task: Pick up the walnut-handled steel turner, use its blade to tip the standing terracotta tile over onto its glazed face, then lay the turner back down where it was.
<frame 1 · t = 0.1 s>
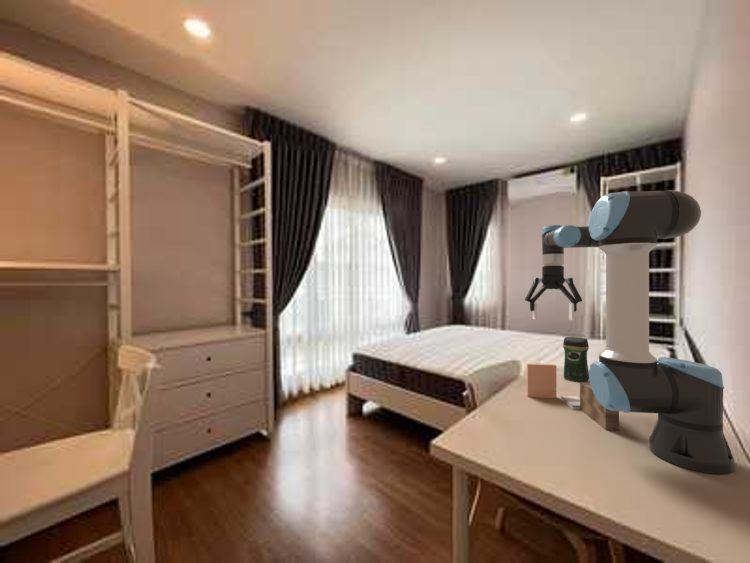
hand: (552, 319, 133), 28 cm above the table, tool pointing down, fingers open, 13 cm apart
coffee jar: (575, 380, 150), on the table
turner: (597, 419, 106), on the table
tile: (541, 396, 127), on the table
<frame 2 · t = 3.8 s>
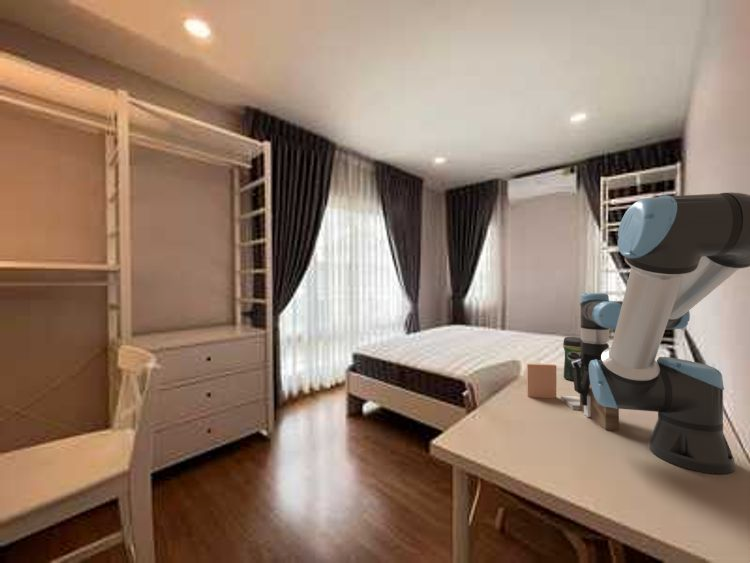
hand: (594, 415, 108), 0 cm above the table, tool pointing down, fingers closed on turner, 3 cm apart
turner: (597, 419, 106), on the table, touching gripper
everything else where it was.
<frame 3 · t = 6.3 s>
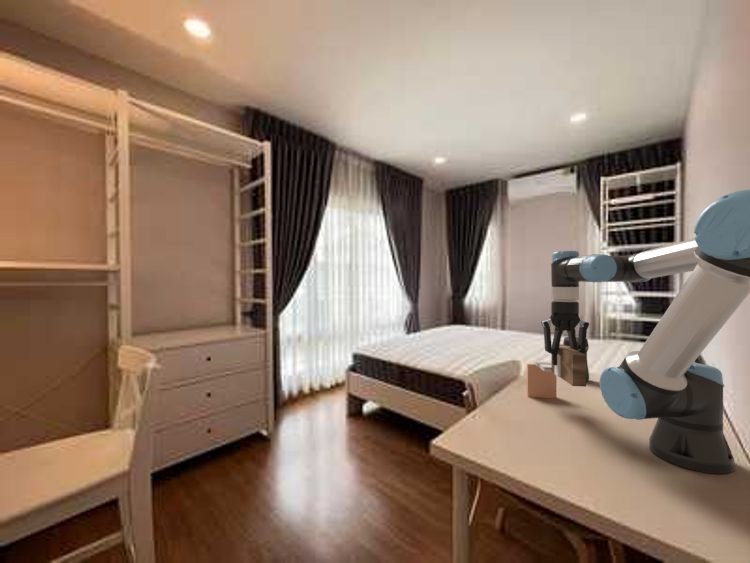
hand: (564, 375, 107), 13 cm above the table, tool pointing down, fingers closed on turner, 3 cm apart
turner: (567, 378, 104), point 13 cm above the table, touching gripper
everything else where it was.
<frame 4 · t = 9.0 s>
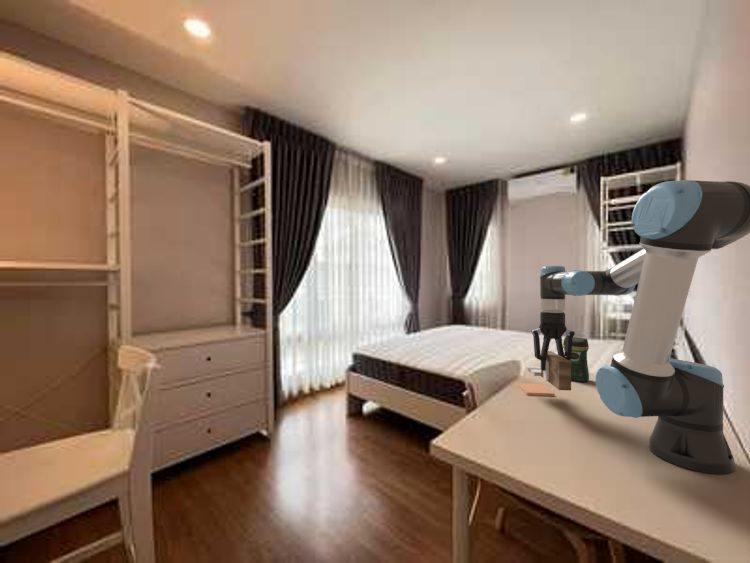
hand: (552, 380, 116), 9 cm above the table, tool pointing down, fingers closed on turner, 3 cm apart
turner: (555, 382, 114), point 9 cm above the table, touching gripper
tile: (540, 394, 128), on the table, tilted 90°
everything else where it was.
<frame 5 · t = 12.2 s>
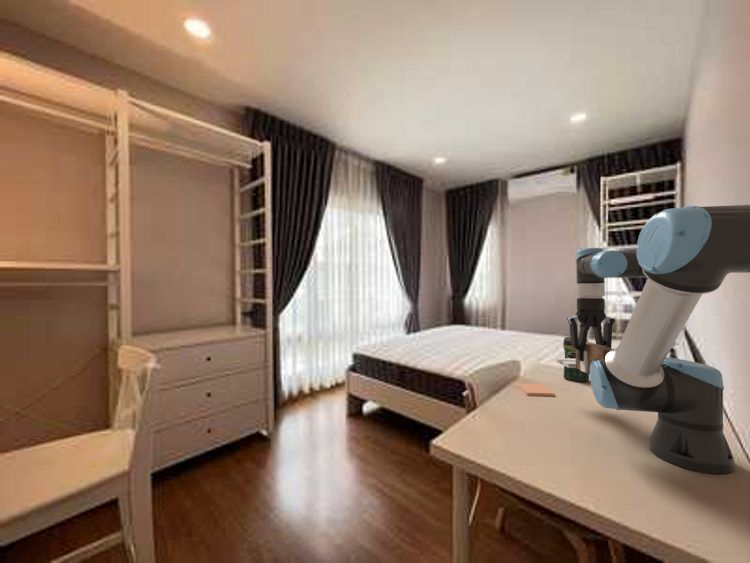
hand: (591, 371, 108), 14 cm above the table, tool pointing down, fingers closed on turner, 3 cm apart
turner: (594, 374, 106), point 14 cm above the table, touching gripper
everything else where it was.
when the fingers open (2 cm above the table, at t = 15.0 s): turner drops 1 cm, on the table.
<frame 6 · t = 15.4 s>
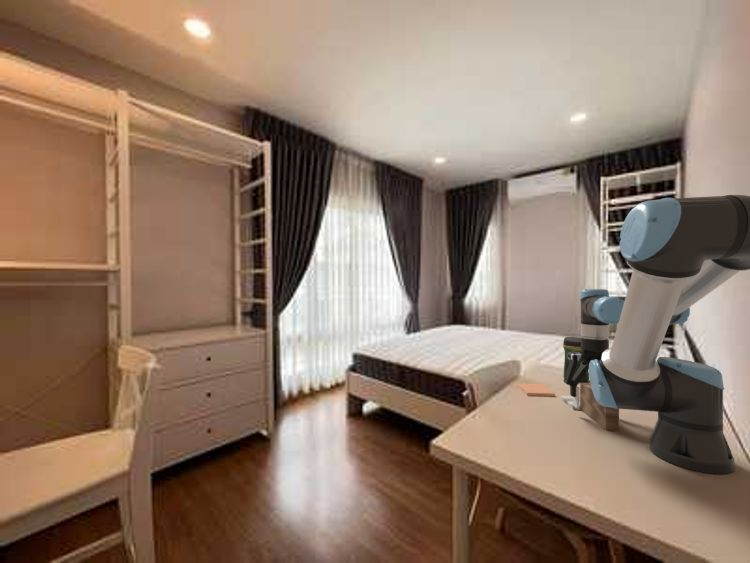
hand: (594, 407, 108), 3 cm above the table, tool pointing down, fingers open, 10 cm apart
turner: (598, 419, 106), on the table
everything else where it was.
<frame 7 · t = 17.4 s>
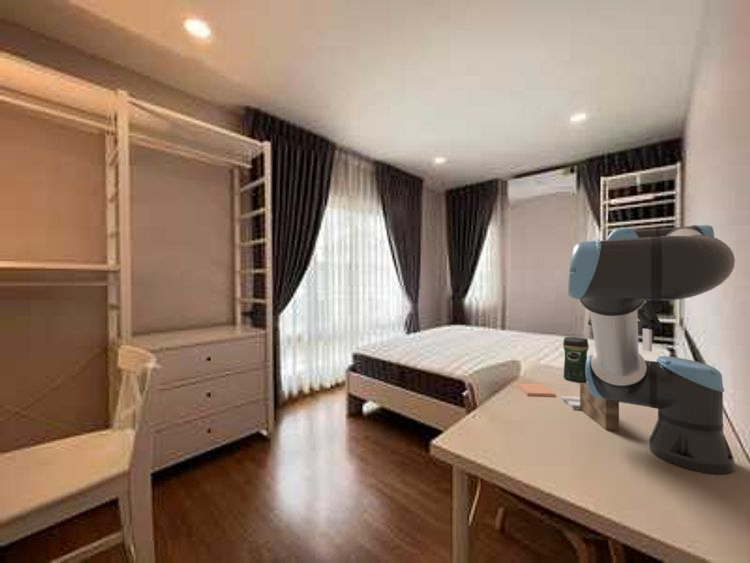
hand: (624, 350, 104), 22 cm above the table, tool pointing down, fingers open, 13 cm apart
nothing on the table moved.
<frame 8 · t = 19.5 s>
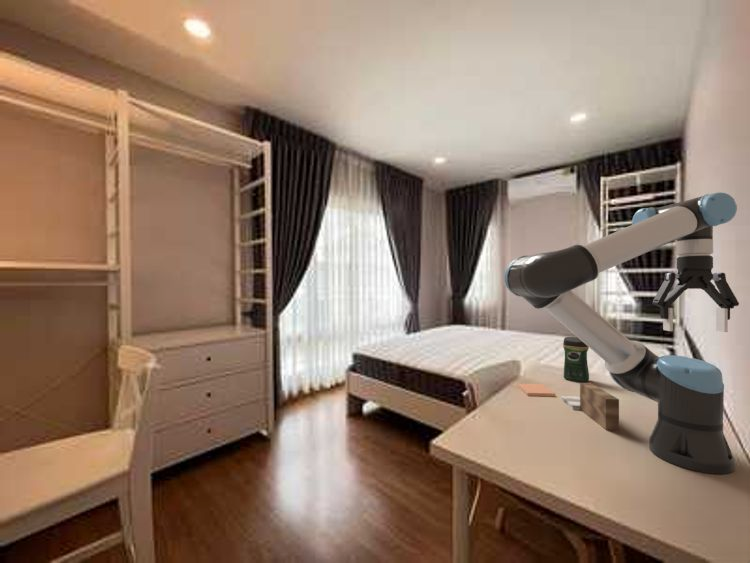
hand: (694, 331, 96), 29 cm above the table, tool pointing down, fingers open, 13 cm apart
nothing on the table moved.
at the end: tile tilted 90°; turner inside the target area (0.1 cm from its centre), on the table; the gripper is holding nothing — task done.
